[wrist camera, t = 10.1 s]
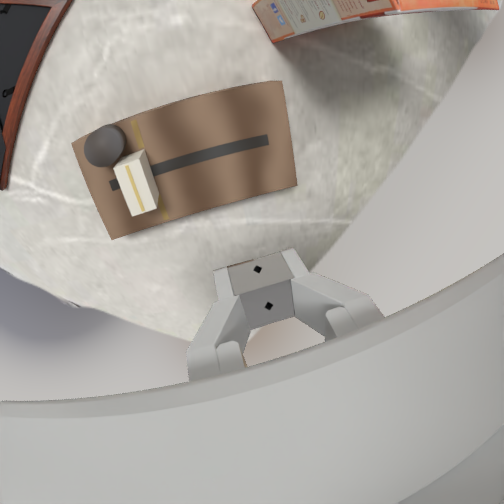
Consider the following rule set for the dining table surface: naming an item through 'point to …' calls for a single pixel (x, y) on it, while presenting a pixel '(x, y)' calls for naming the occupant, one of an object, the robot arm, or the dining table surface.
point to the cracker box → (345, 12)
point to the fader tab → (137, 182)
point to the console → (193, 154)
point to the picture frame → (21, 62)
